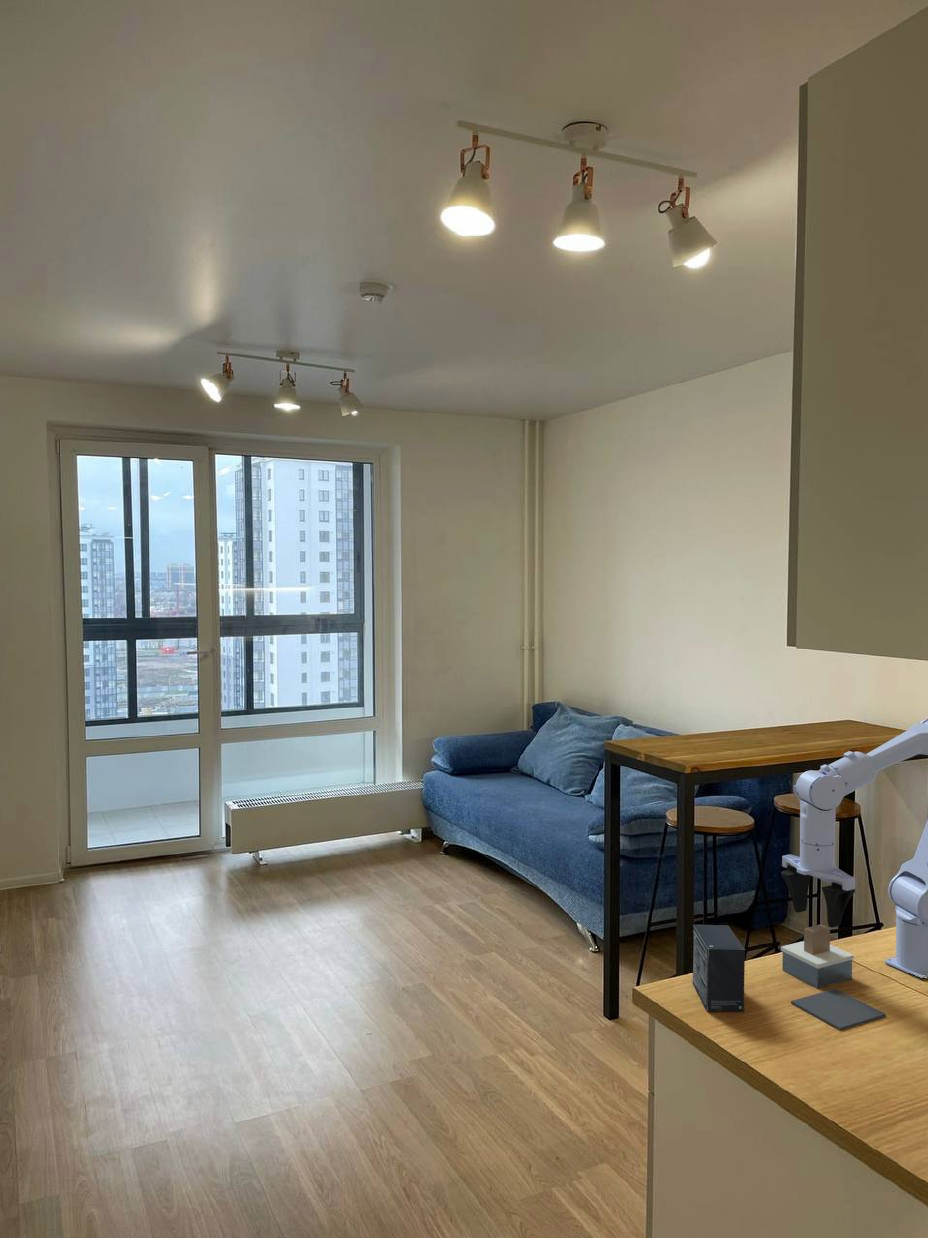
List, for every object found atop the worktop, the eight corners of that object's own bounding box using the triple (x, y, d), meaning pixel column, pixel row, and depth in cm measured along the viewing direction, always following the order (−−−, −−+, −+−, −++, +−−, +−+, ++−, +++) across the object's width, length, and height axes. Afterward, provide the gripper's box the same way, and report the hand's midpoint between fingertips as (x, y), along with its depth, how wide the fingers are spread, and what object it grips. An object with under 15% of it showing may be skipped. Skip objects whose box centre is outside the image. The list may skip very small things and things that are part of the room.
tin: (815, 961, 166) (816, 942, 166) (851, 978, 159) (852, 958, 159) (782, 969, 163) (782, 950, 162) (817, 988, 155) (817, 967, 155)
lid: (816, 944, 166) (816, 916, 166) (853, 962, 159) (854, 932, 158) (780, 953, 163) (780, 924, 162) (817, 972, 155) (817, 941, 155)
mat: (835, 990, 154) (835, 988, 154) (885, 1016, 145) (885, 1013, 145) (790, 1003, 150) (790, 1000, 150) (839, 1030, 141) (839, 1027, 141)
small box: (747, 1012, 147) (747, 948, 147) (706, 1012, 147) (706, 948, 147) (729, 983, 158) (729, 923, 157) (691, 983, 158) (691, 923, 157)
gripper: (769, 833, 164) (769, 908, 165) (833, 855, 151) (833, 937, 152) (799, 828, 167) (798, 902, 168) (864, 849, 154) (863, 929, 155)
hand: (816, 918), depth 160 cm, fingers open, 7 cm apart
